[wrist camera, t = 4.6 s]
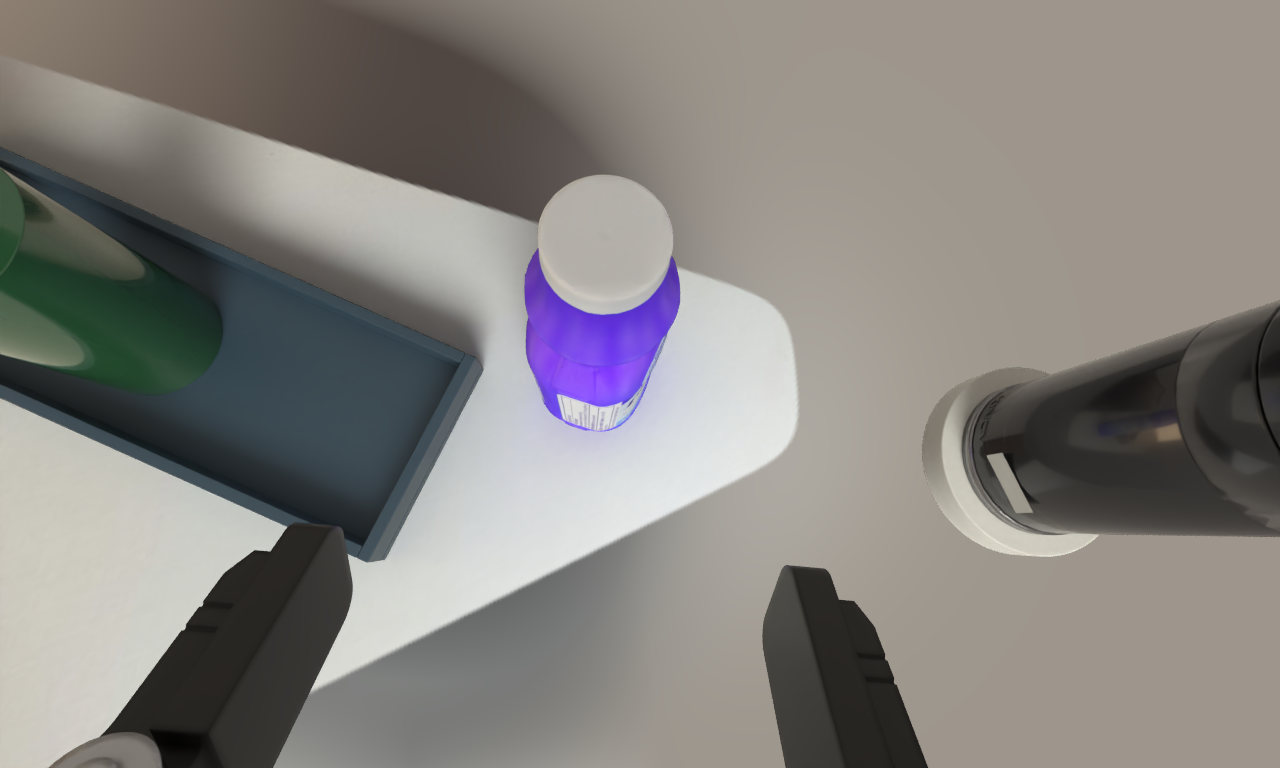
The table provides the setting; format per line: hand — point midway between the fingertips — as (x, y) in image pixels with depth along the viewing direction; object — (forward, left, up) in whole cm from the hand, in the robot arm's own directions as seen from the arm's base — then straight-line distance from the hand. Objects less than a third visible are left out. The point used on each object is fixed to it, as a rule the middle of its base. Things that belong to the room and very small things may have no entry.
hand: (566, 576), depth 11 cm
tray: (+25, -1, -22) cm, 33 cm away
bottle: (+3, -9, -22) cm, 24 cm away
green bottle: (+25, -1, -21) cm, 33 cm away
